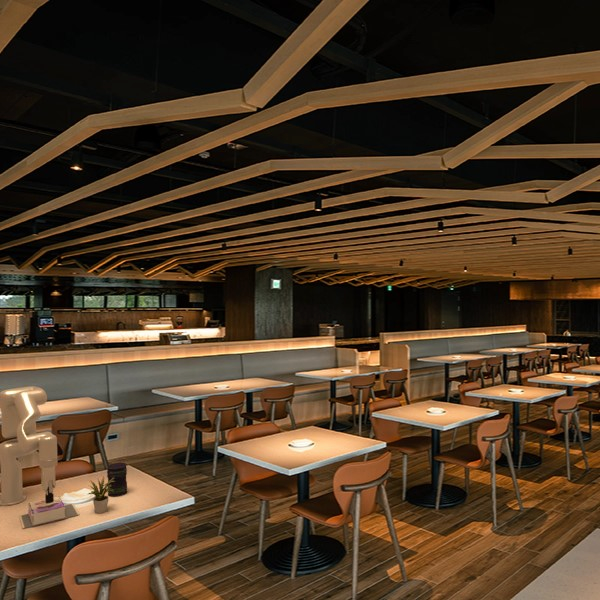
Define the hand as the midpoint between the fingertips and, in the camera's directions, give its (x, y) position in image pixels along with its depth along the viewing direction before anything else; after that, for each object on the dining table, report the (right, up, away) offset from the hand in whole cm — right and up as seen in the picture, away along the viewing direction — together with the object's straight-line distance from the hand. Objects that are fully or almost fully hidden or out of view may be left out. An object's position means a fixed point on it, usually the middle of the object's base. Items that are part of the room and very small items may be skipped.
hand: (49, 502), depth 231 cm
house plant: (+20, -10, +12) cm, 25 cm away
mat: (-5, -10, +9) cm, 14 cm away
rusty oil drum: (+18, -10, +36) cm, 41 cm away
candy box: (0, -7, +1) cm, 7 cm away
